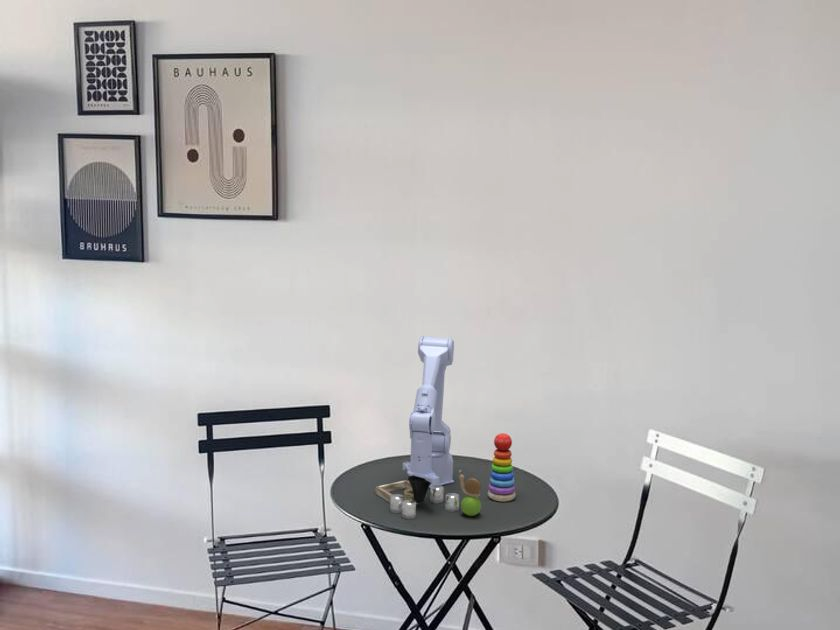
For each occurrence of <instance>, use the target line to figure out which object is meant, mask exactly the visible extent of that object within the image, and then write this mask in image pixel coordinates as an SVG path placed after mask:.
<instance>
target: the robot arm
mask: <svg viewBox="0 0 840 630" xmlns="http://www.w3.org/2000/svg"><path fill="white" fill-rule="evenodd" d="M454 351H455V342H454V339H453V338H452V337H449V338H448V337H447V338H446V337H435V336H433V337H432V336H424V335H422V336H421V337H419V339H418V345H417V354H418V357H419V359H420V362H421V363H423V367H422V368H423V370H422V383H421V384H422V385H421V386H420V387H418V389H417V391H416V394H415V401H414V405H413V407H414V408H413V411H412V412H411V413H410V415H409V418H408V419H409V420H408V421H409V422H408V425H409V427H408V428H409V429H408V430H409V439H410V461H406V462H403V463H402V470H403V471H406V474H407V475H408V477H407V480H408V481H409V482H410V484H411V487H412V490H413V494H414V498H415V501H416V503H424V502H425V499H426V498H425V496H426V493H428V490H429V489H431V486H433V485H441V486H443V485H444V486H445V485H448V484H449V485H450V484H453V483H455V481H454V479H453V476H454V475H453V470H454V459H453V455H452V454H451V453H450V450H451V445H452V444H451V441H452V438H451V437H452V435H451V432H452V431H451V428H450V426H449V425H448V424H447V423H445V422H444V421H443V406H444V390H445V374H446V369H447V367H448V366H451V365H453V362H454V354H455V353H454Z"/></svg>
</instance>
